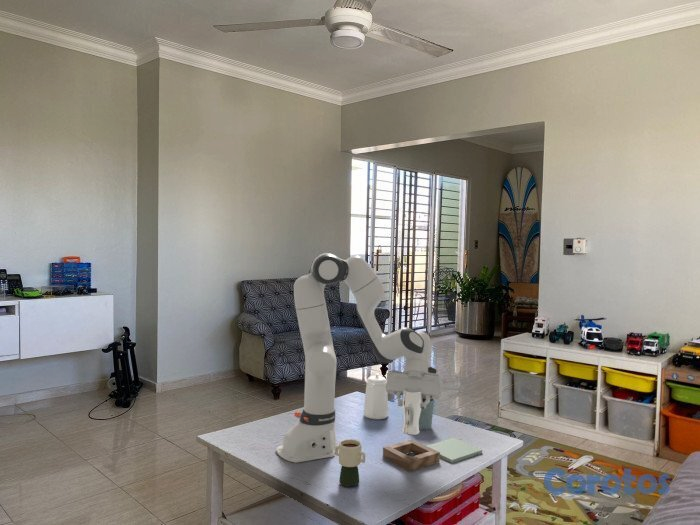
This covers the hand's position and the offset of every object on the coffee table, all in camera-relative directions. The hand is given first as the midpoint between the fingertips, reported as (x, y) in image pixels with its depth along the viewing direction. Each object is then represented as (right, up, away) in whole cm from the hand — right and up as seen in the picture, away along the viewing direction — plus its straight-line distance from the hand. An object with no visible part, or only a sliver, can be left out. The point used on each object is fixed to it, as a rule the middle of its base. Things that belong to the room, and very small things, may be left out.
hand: (411, 406), depth 183 cm
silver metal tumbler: (0, -9, +1) cm, 9 cm away
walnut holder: (0, -19, +1) cm, 19 cm away
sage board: (+16, -19, +10) cm, 27 cm away
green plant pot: (+8, -18, +35) cm, 40 cm away
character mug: (-22, -19, -18) cm, 34 cm away
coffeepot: (-10, -17, +46) cm, 50 cm away
